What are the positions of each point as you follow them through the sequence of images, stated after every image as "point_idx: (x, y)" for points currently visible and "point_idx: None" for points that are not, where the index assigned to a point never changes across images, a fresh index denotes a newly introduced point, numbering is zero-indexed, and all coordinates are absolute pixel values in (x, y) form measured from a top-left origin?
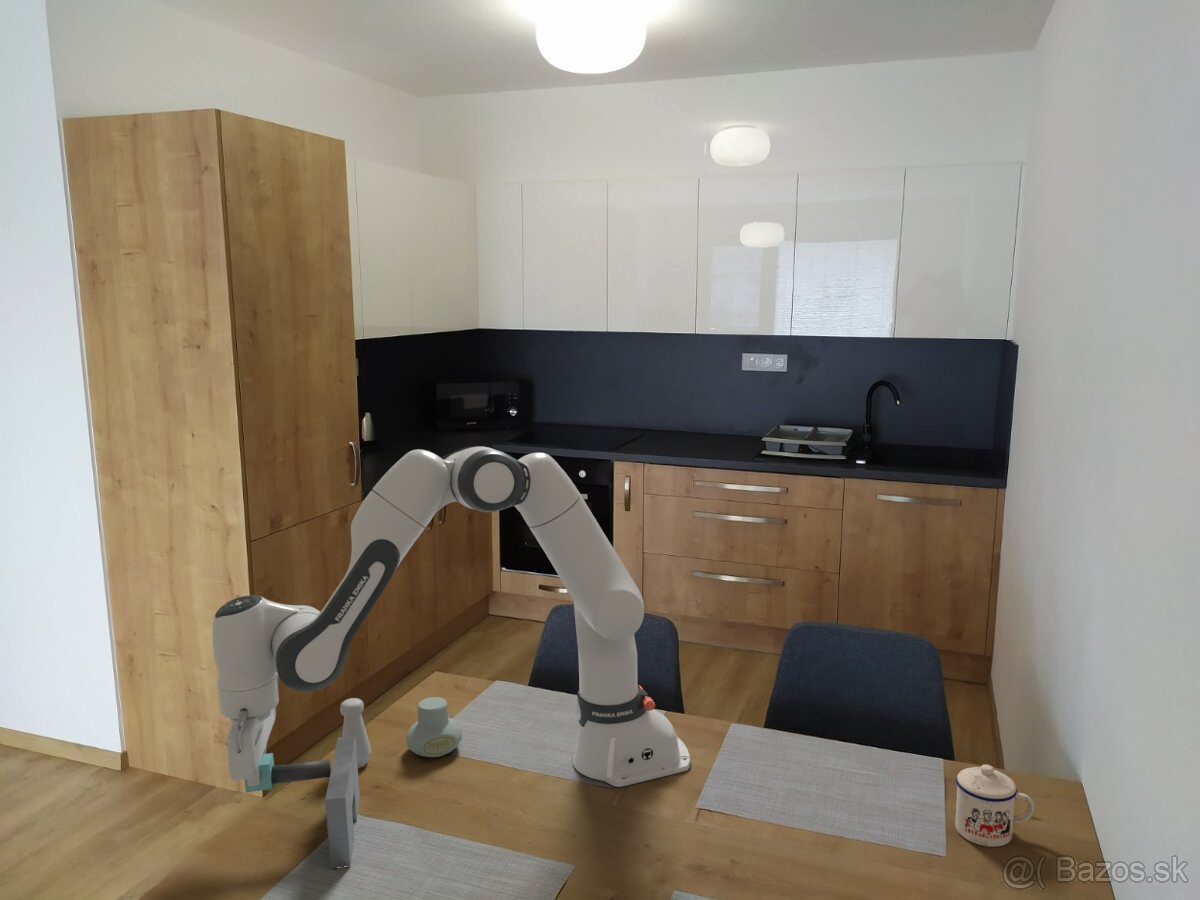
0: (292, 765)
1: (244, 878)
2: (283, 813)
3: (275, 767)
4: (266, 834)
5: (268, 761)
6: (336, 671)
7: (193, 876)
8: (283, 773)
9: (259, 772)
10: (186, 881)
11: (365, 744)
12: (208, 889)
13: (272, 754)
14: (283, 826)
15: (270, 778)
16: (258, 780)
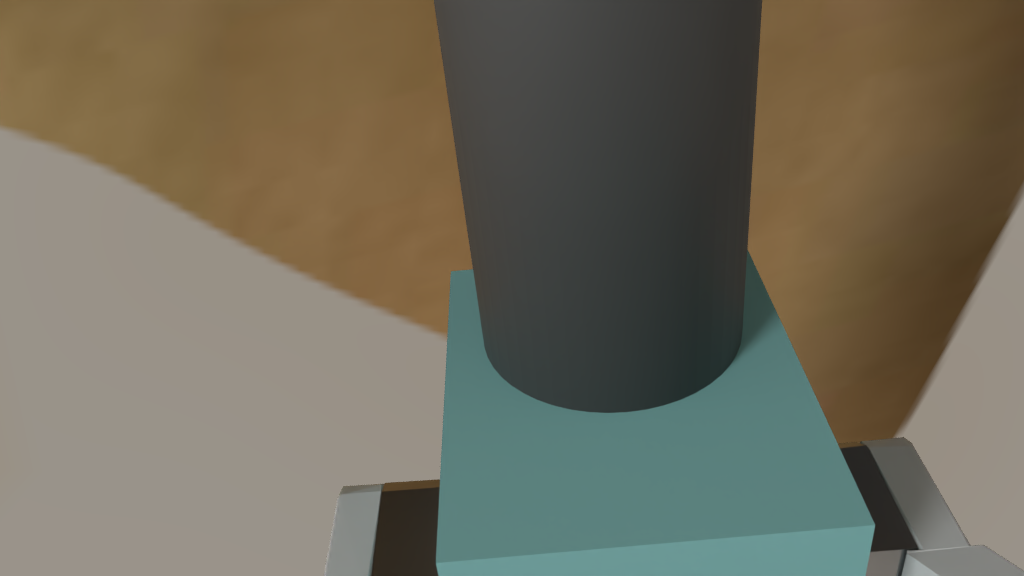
0: (643, 94)
1: (940, 125)
2: (197, 65)
3: (636, 365)
4: None
5: (760, 556)
6: None
7: (813, 390)
8: (746, 193)
9: (880, 548)
10: (847, 407)
11: None
12: (966, 290)
13: (491, 556)
14: (371, 20)
15: (788, 340)
16: (930, 480)
